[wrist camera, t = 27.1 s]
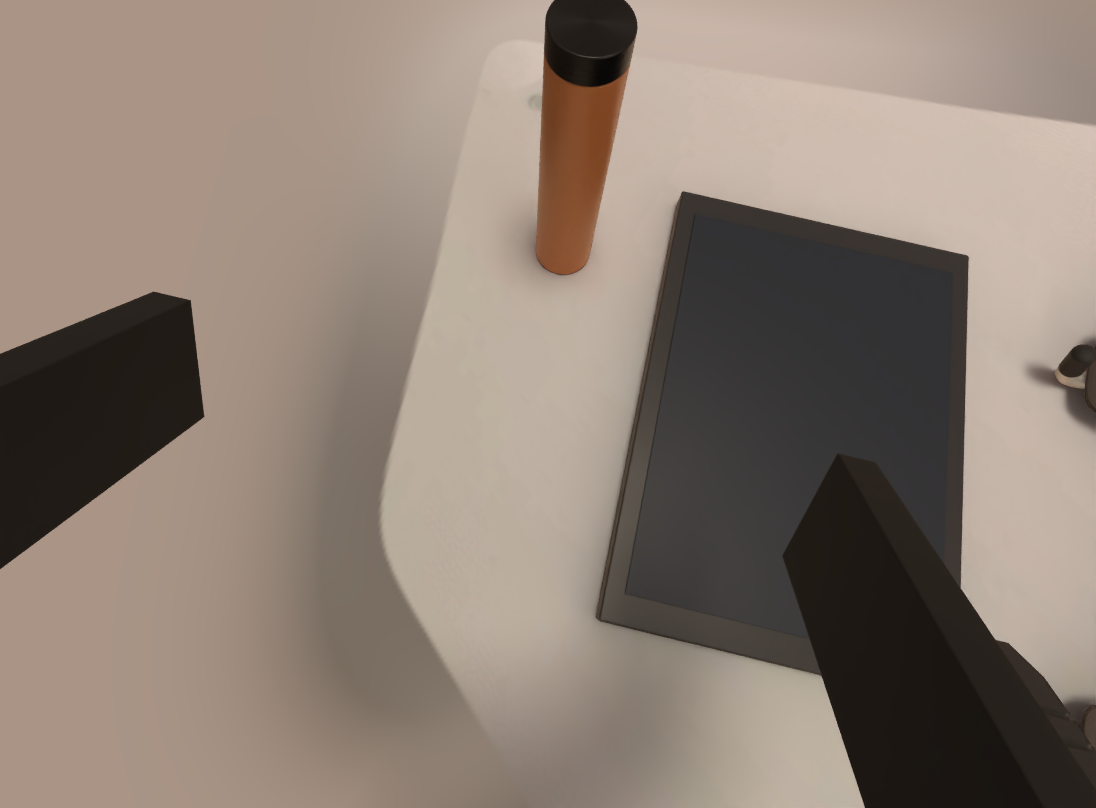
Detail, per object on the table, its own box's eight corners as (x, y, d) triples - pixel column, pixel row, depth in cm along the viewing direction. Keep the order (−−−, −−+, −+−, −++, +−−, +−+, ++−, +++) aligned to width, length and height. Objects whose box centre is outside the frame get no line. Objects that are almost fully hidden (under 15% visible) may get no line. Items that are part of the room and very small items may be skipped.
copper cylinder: (530, 267, 27) (535, 46, 16) (542, 221, 28) (556, -22, 16) (583, 280, 27) (628, 67, 16) (594, 233, 28) (645, -3, 16)
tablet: (595, 618, 23) (598, 621, 22) (676, 203, 29) (682, 188, 28) (940, 703, 23) (960, 709, 22) (954, 266, 28) (971, 254, 27)
